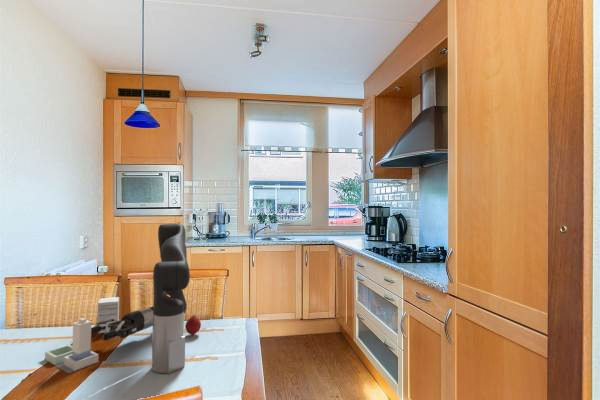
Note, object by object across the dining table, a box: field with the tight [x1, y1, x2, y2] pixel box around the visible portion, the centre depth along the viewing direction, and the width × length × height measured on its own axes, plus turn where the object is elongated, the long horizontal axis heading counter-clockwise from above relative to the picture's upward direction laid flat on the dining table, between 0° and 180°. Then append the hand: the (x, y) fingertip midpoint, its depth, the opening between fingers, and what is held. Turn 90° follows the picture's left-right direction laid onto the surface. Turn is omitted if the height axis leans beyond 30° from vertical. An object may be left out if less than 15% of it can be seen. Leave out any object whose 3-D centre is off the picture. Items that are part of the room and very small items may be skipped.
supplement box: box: [96, 296, 120, 334], centre depth 135 cm, size 7×7×13 cm
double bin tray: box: [44, 344, 100, 374], centre depth 107 cm, size 17×9×3 cm, turn 58°
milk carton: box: [71, 317, 92, 361], centre depth 106 cm, size 4×4×14 cm
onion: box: [184, 314, 202, 336], centre depth 132 cm, size 6×6×8 cm
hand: (95, 335), depth 110 cm, fingers open, 8 cm apart
